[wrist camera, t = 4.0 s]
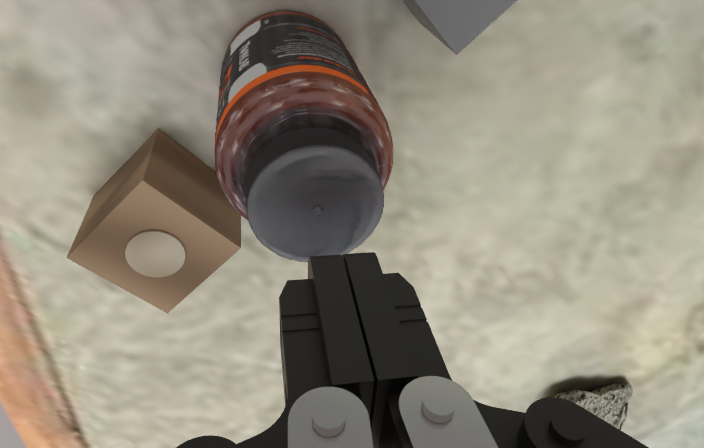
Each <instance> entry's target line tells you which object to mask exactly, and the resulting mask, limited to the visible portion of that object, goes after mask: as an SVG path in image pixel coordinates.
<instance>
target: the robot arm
mask: <svg viewBox="0 0 704 448" xmlns="http://www.w3.org/2000/svg"><path fill="white" fill-rule="evenodd" d="M279 305H280V346H281V358H282V370H283V381H284V395H285V409H284V411H283V413H282V414H281V416H280V417H279V419H278V420H277V421H276V422H275V423H274V424H273V425H272V426H271V427H270V428H268V429H267V430H265V431H264V432H262V433H260V434H258V435H256V436H254V437H252V438H250V439H247V440H245V441H243V442H241V443H238V444H235V443H234V442H232V441H231V440H229V439H226V438H223V437H219V436H201V437H197V438H194V439H191V440H188V441H186V442H184V443H183V444H181V445H179V446H178V447H177V448H648V447H647V446H645V445H643V444H642V443H640V442H638V441H637V440H635V439H633V438H632V437H630V436H629V435H627V434H625V433H624V432H622V431H620V430H619V429H617V428H616V427H614V426H612V425H611V424H609V423H607V422H606V421H604V420H602V419H601V418H599V417H598V416H596V415H594V414H593V413H591V412H589V411H588V410H586V409H585V408H583V407H581V406H579V405H577V404H576V403H573V402H571V401H568V400H565V399H561V398H542V399H540V400H537V401H535V402H534V403H532V404H531V405H530V406H529V408H528V409H527V411H526V413H523V412H517V411H512V410H506V409H501V408H495V407H491V406H487V405H484V404H481V403H479V402H477V401H475V400H473V399H472V397H471V396H470V394H469V393H468V392H467V391H466V390H465V389H464V388H463V387H461V386H460V385H459V384H457V383H455V382H453V381H452V379H451V377H450V375H449V373H448V371H447V368H446V366H445V363H444V361H443V358H442V356H441V353H440V351H439V348H438V346H437V344H436V341H435V339H434V336H433V334H432V331H431V329H430V326H429V324H428V322H426V317H425V314H424V312H423V309H422V308H421V304H420V302H419V299H418V297H417V295H416V292H415V290H414V287H413V286H412V285H411V284H410V283H409V282H407V281H406V280H405V279H404V278H403V277H402V276H401V275H400V274H399V273H391V274H383V273H382V270H381V267H380V264H379V261H378V258H377V256H376V254H375V253H374V252H372V253H355V254H343V255H323V256H309V259H308V279H304V280H289V281H287V283H286V285H285V287H284V289H283V291H282V293H281V295H280V297H279Z"/></svg>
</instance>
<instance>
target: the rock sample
mask: <svg viewBox="0 0 704 448" xmlns="http://www.w3.org/2000/svg"><path fill="white" fill-rule="evenodd" d="M631 395H632V388H631V385H630V384H629V383H626V384H612V385H609V386H605V387H602V388H598V389H596V390H594V391H592V392H588V391H580V390H571V391H567V392H564V393H559V394H557V395H555V396H554V398H561V399H565V400H568V401H571V402H573V403H576V404H577V405H579V406H581V407H583V408H585V409H586V410H588V411H589V412H591V413H593V414H594V415H596V416H598V417H599V418H601V419H602V420H604V421H606V422H607V423H609V424H611V425H612V426H614V427H616V428H617V429H619V430H621V427H622V425H623V423H624V422H625V420H626V418H627V406H628V403H629V400H630V398H631Z"/></svg>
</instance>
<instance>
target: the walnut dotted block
mask: <svg viewBox="0 0 704 448" xmlns="http://www.w3.org/2000/svg"><path fill="white" fill-rule="evenodd" d="M240 248H241V215H240V213H238V212H237V210H236V209H235V208H234V207H233V206H232V204H231V203H230V202H229V200H228V199H227V197H226V196H225V194H224V192H223V190H222V188H221V185H220V183H219V180H218V177H217V174H216V172H215V171H214V170H213V169H211V168H210V167H209V166H207V165H206V164H205V163H203V162H202V161H201V160H199V159H198V158H197V157H196V156H194V155H193V154H192V153H190V152H189V151H188V150H186V149H185V148H184V147H182V146H181V145H180V144H178V143H177V142H176V141H175V140H173V139H172V138H171V137H169V136H168V135H167V134H165V133H164V132H163V131H161V130H160V129H159V128H158V129H157V130H156V131H155V132H154V134H153V135H152V136H151V137H150V138H149V139H148V140H147V141H146V142H145V143H144V144H143V145H142V146H141V147H140V148H139V149H138V150H137V151H136V152H135V153H134V155H133V156H132V157H131V158H130V159H129V160H128V161H127V162H126V163H125V164H124V165H123V166H122V167H121V168H120V169H119V170H118V171H117V172H116V173H115V174H114V175H113V177H112V178H111V179H110V180H109V181H108V182H107V183H106V184H105V185H104V186H103V187H102V188H101V189H100V190H99V191H98V192H97V193H96V194H95V195H94V197H93V199H92V201H91V203H90V206H89V208H88V210H87V213H86V215H85V217H84V219H83V222H82V224H81V226H80V229H79V231H78V233H77V235H76V238H75V240H74V242H73V245H72V247H71V249H70V251H69V254H68V256H67V258H68V259H70V260H72V261H74V262H75V263H77V264H79V265H81V266H83V267H84V268H86V269H88V270H90V271H92V272H94V273H95V274H97V275H99V276H101V277H103V278H104V279H106V280H108V281H110V282H112V283H114V284H115V285H117V286H119V287H121V288H123V289H124V290H126V291H128V292H130V293H132V294H134V295H135V296H137V297H139V298H141V299H143V300H144V301H146V302H148V303H150V304H152V305H154V306H155V307H157V308H159V309H161V310H163V311H164V312H166V313H168V312H170V311H171V310H172V309H173V308H174V307H175V306H176V305H177V304H179V303H180V302H181V301H182V300H183V299H184V298H185V297H186V296H188V295H189V294H190V293H191V292H192V291H193V290H194V289H195V288H196V287H198V286H199V285H200V284H201V283H202V282H203V281H204V280H205V279H207V278H208V277H209V276H210V275H211V274H212V273H213V272H214V271H216V270H217V269H218V268H219V267H220V266H221V265H222V264H223V263H225V262H226V261H227V260H228V259H229V258H230V257H231V256H232V255H233V254H235V253H236V252H237V251H238V250H239V249H240Z"/></svg>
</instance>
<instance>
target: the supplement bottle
mask: <svg viewBox="0 0 704 448" xmlns="http://www.w3.org/2000/svg"><path fill="white" fill-rule="evenodd" d="M392 164H393V143H392V137H391V133H390V130H389V126H388V123H387V120H386V118H385V116H384V114H383V112H382V110H381V109H380V107H379V105H378V103H377V101H376V99H375V98H374V96H373V94H372V92H371V90H370V89H369V87H368V85H367V83H366V81H365V80H364V78H363V76H362V74H361V73H360V71H359V69H358V67H357V65H356V64H355V62H354V60H353V58H352V57H351V55H350V53H349V51H348V50H347V49H346V47H345V46H344V44H343V42H342V41H341V39H340V38H339V37H338V35H337V34H336V33H335V32H334V31H333V30H332V29H331V28H330V27H329V26H328V25H326V24H325V23H323V22H322V21H320V20H318V19H316V18H314V17H312V16H309V15H306V14H303V13H299V12H289V11H281V12H274V13H270V14H266V15H264V16H261V17H259V18H257V19H256V20H253V21H252V22H250V23H249V24H247V25H246V26H245V27H244V28H243V29H241V30H240V31H239V32H238V33H237V35H236V36H235V37H234V38H233V40H232V42H231V43H230V45H229V47H228V49H227V52H226V54H225V57H224V60H223V63H222V69H221V77H220V87H219V101H218V113H217V126H216V133H215V167H216V174H217V177H218V180H219V183H220V185H221V188H222V190H223V192H224V194H225V196H226V197H227V199H228V200H229V202H230V203H231V204H232V206H233V207H234V208H235V209H236V210H237V212H238V213H240V215H241V216H243V217H244V218H245V219H247V220H248V221H249V224H250V226H251V229H252V231H253V232H254V234H255V236H256V237H257V239H258V240H259V241H260V242H261V243H262V244H263V245H264V246H265V247H267V248H268V249H269V250H271V251H273V252H274V253H276V254H277V255H279V256H282V257H284V258H287V259H290V260H295V261H299V262H308V259H309V256H323V255H343V254H347V253H349V252H351V251H352V250H353V249H355V248H356V247H358V246H359V245H361V244H362V243H363V242H364V241H365V240H366V239H367V238H368V237H369V236H370V235H371V234H372V232H373V231H374V229H375V227H376V226H377V224H378V223H379V220H380V218H381V215H382V212H383V207H384V192H383V191H384V189H385V187H386V184H387V182H388V179H389V177H390V173H391V169H392Z"/></svg>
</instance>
